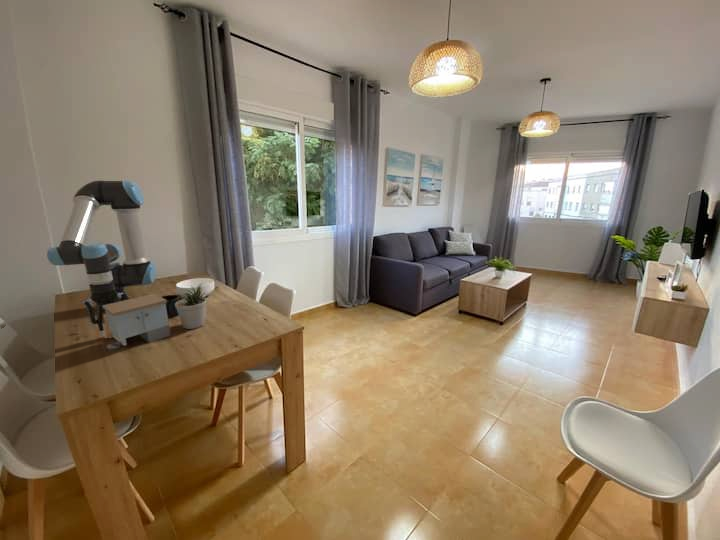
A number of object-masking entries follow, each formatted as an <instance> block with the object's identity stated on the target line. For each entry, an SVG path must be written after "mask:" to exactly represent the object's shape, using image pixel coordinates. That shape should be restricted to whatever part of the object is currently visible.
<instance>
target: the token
mask: <svg viewBox="0 0 720 540" xmlns="http://www.w3.org/2000/svg"><path fill="white" fill-rule="evenodd" d="M122 346H123V345H122V344H121V342H118V341H115V342H112V343H108V344H107V345H106V348H107V349H106V350H109V351H114V350H117V349H120V348H121V347H122Z"/></svg>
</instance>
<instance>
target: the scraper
mask: <svg viewBox="0 0 720 540" xmlns="http://www.w3.org/2000/svg"><path fill="white" fill-rule="evenodd" d="M102 322H104V323H105V326H106V330H107V335H108V338H107V339H112V338H114V339H115V340H116V342H121V345H122V346H127V344H128V343H127V340H126V339H127V338H125V339H122V340H119V339H118V338H117V337H116V336H115V335H113V334H112V333H111V332H110V330H109V325H108V320H107V316H106V312H103V319H102Z"/></svg>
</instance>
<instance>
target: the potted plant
mask: <svg viewBox="0 0 720 540" xmlns="http://www.w3.org/2000/svg"><path fill="white" fill-rule="evenodd" d="M190 286H191V285H190ZM191 287H192V286H191ZM192 289H193V290H194V288H193V287H192ZM202 289H203V287H202ZM202 289H201V285H199V287H198V286H197V291H195V290H194V294H193V293H192V292H190V291H189V292H190V293H191V294H192V295H190V294H189V293H187V292H186V291H188V290H186V291H185V289H184V291H185V292H186V293H184V294H178V296H179V298H181V300H180V299H179V301H178V302H176V303H175V307H176V309H177V311H178V314H179V315H178V317H179V320H180V323H181V325H182V327H183V328H184V329H187V330H194V329H198V328H201V327H203V326H204V325H205V323H206V314H207V313H206V309H207V299H206V297H207V296H208V295H206V296H205V297H202V296H203V295H204V294H203V292H202V295H201V291H202ZM182 290H183V289H182ZM200 290H201V291H200ZM181 293H183V292H181ZM186 294H187V295H186ZM181 295H182V296H184V295H185V296H184V297H186V296H187V297H186V298H184V297H182V296H181ZM200 295H201V296H200Z"/></svg>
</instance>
